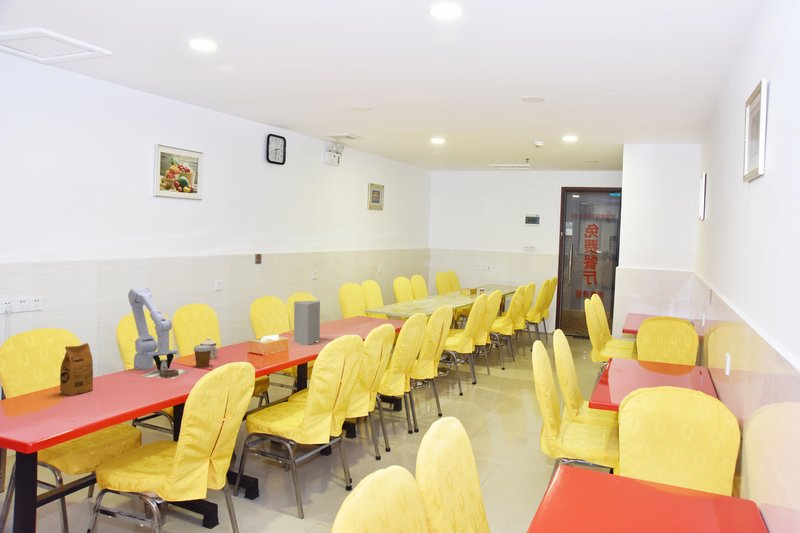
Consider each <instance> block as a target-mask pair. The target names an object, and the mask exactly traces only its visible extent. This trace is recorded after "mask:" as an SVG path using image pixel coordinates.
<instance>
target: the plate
mask: <svg viewBox="0 0 800 533" xmlns="http://www.w3.org/2000/svg"><path fill="white" fill-rule="evenodd" d="M168 370H178V376H176V377H171V378H170V379H176V378H177V377H180V376H181V375H183V374H186V373H188V372H190V371H191V370H190V369H174V368H173V369H171V368H170V369H168ZM139 377H140V378H156V379H157V378H159V379H163V378H162V377H160V376H159V370H157V368H156V369H154V370H152V371H150V372H147V373H145V374H143V375H140V376H139Z"/></svg>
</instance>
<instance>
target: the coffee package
mask: <svg viewBox="0 0 800 533" xmlns="http://www.w3.org/2000/svg"><path fill="white" fill-rule="evenodd" d="M64 349H65V351H66V352H65V354H64V358H63V359H62V363H61V364H60V370H59V373H60V375H59V376H60V377H59V381H60V382H59V391H60V393H61V394H64V395H66V396H75V395H77V394H85V393H89V392H91V391H93V390H94V362H93V361H94V360H93V356H92V352H91V349H90V344H89V343H88V342H86V343H83V344H81V345H69V346H68V345H67V346H65V347H64Z"/></svg>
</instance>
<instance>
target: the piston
mask: <svg viewBox="0 0 800 533" xmlns="http://www.w3.org/2000/svg"><path fill="white" fill-rule="evenodd" d="M163 370H168V360H167V358H166V359H165V358H163V359H160V370H159V372H160V371H163Z"/></svg>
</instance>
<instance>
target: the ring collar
mask: <svg viewBox="0 0 800 533" xmlns="http://www.w3.org/2000/svg"><path fill="white" fill-rule="evenodd" d="M178 370H179V369H178ZM178 370H163V371H160V372H159V376H160V377H162V378H161V379H172V378H171V377H175V378H177V377H176V376H178ZM178 377H179V376H178Z"/></svg>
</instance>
